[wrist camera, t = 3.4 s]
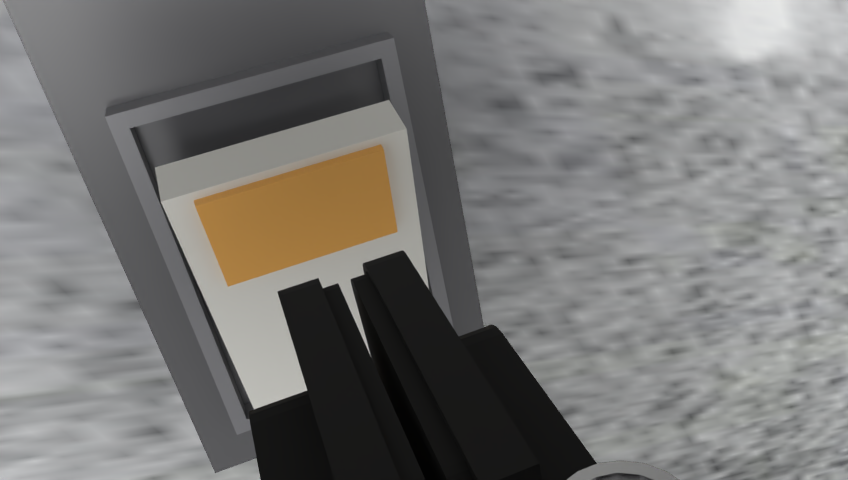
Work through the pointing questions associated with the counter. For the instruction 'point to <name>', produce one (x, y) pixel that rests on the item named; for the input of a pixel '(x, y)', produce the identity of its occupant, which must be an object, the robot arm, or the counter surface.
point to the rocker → (291, 228)
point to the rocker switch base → (233, 142)
